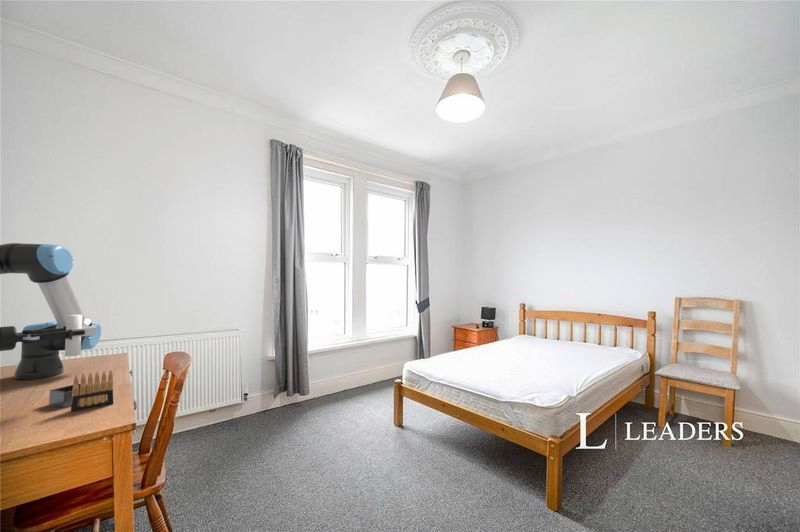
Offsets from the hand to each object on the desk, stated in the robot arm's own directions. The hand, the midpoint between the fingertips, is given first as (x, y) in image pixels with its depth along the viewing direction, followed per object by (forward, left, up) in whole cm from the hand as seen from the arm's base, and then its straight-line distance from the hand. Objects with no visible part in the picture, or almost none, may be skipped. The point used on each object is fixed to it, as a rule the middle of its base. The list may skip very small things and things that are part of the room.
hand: (93, 330), depth 125 cm
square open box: (-1, -5, -25) cm, 25 cm away
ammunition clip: (+11, -5, -25) cm, 28 cm away
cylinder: (-1, -5, -8) cm, 10 cm away
